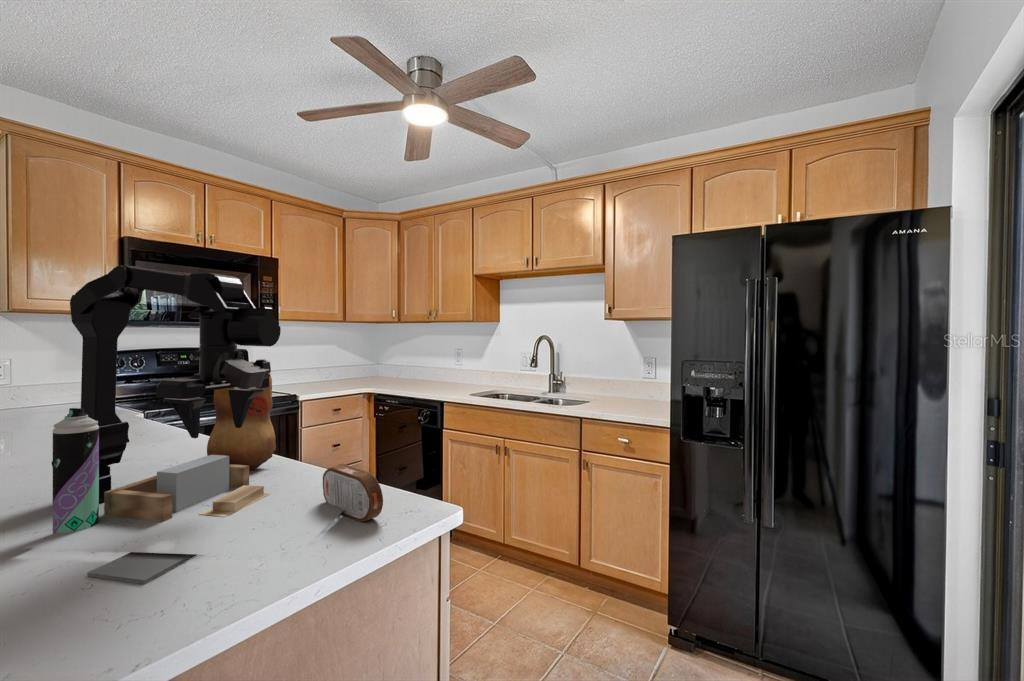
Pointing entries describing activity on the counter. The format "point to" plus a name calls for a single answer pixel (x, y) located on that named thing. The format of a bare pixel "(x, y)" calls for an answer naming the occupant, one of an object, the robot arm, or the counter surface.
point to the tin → (353, 492)
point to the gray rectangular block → (194, 481)
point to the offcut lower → (226, 513)
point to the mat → (139, 566)
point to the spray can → (75, 472)
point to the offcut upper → (238, 498)
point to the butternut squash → (243, 430)
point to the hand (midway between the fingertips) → (217, 432)
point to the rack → (155, 497)
